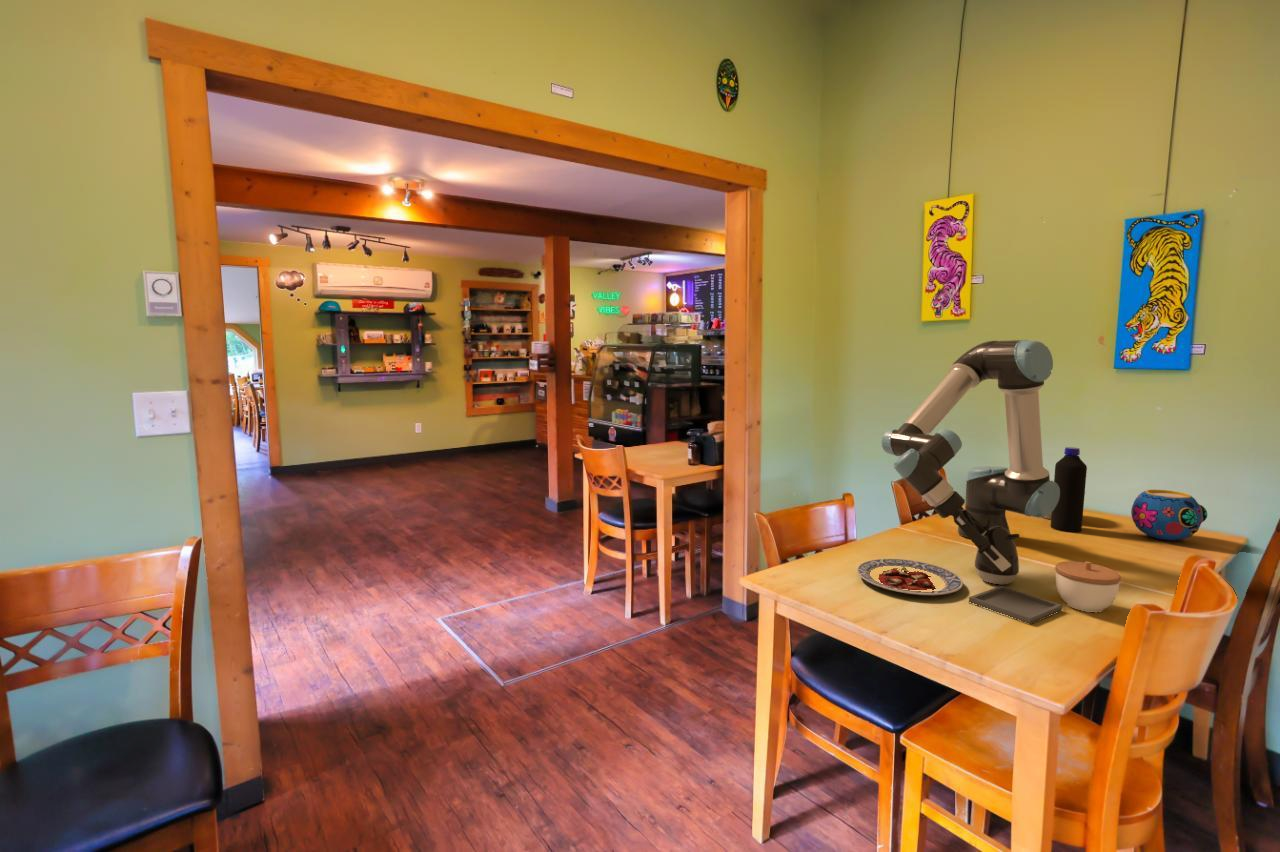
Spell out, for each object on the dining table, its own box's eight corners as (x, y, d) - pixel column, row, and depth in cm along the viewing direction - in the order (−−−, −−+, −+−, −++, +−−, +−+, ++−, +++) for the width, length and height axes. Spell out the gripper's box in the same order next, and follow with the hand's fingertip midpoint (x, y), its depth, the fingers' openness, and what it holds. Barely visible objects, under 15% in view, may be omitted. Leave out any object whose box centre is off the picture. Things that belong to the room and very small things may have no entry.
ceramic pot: (1186, 550, 189) (1192, 502, 187) (1118, 535, 204) (1123, 491, 202) (1209, 541, 198) (1214, 495, 196) (1142, 527, 213) (1147, 485, 211)
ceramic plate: (969, 608, 148) (970, 596, 148) (855, 594, 157) (856, 583, 156) (955, 572, 172) (956, 562, 172) (857, 561, 181) (857, 551, 180)
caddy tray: (968, 602, 151) (969, 597, 150) (1001, 591, 158) (1001, 585, 158) (1029, 624, 139) (1029, 618, 138) (1061, 611, 146) (1062, 604, 146)
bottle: (1054, 530, 210) (1060, 449, 206) (1047, 524, 218) (1053, 445, 214) (1085, 533, 206) (1092, 450, 203) (1077, 526, 215) (1083, 446, 211)
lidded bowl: (1130, 614, 144) (1135, 568, 143) (1090, 620, 140) (1094, 574, 139) (1078, 593, 156) (1082, 551, 155) (1040, 599, 152) (1043, 556, 151)
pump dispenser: (1003, 591, 157) (1007, 533, 156) (965, 578, 167) (968, 523, 165) (1027, 584, 162) (1031, 528, 160) (989, 572, 171) (992, 518, 169)
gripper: (931, 497, 180) (986, 554, 175) (932, 518, 157) (996, 584, 153) (952, 481, 177) (1009, 538, 173) (957, 500, 154) (1022, 566, 150)
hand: (1003, 560), depth 163 cm, fingers open, 13 cm apart
